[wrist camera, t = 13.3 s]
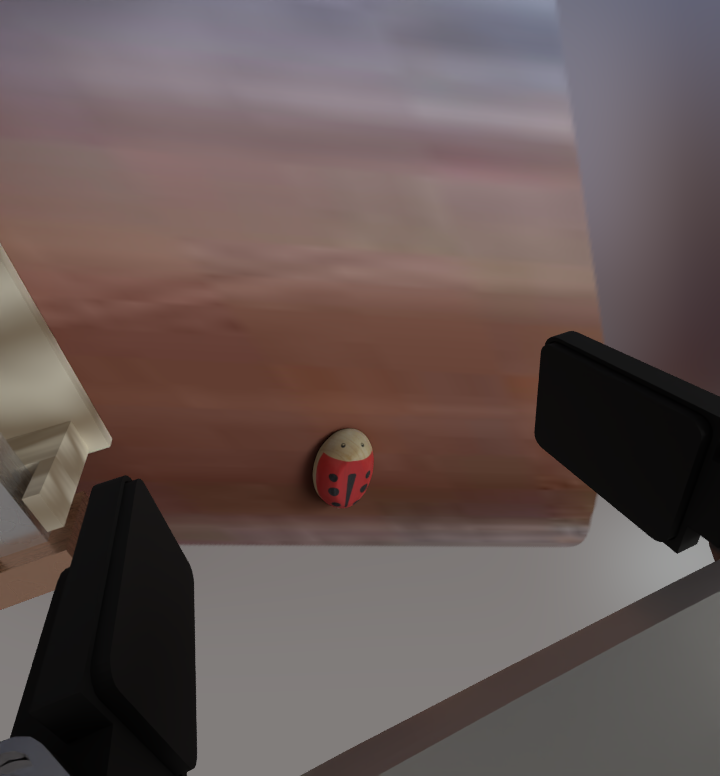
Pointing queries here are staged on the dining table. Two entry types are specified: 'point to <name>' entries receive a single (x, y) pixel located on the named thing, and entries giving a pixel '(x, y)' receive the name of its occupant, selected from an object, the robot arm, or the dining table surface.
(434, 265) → the dining table surface
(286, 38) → the dining table surface
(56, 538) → the steel bar
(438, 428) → the dining table surface
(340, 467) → the ladybug figurine
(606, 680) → the robot arm
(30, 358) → the hanger stand
